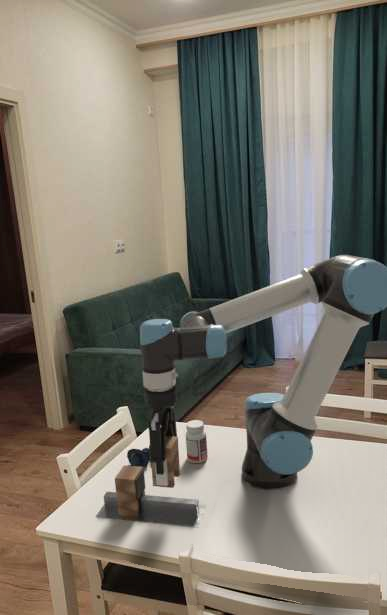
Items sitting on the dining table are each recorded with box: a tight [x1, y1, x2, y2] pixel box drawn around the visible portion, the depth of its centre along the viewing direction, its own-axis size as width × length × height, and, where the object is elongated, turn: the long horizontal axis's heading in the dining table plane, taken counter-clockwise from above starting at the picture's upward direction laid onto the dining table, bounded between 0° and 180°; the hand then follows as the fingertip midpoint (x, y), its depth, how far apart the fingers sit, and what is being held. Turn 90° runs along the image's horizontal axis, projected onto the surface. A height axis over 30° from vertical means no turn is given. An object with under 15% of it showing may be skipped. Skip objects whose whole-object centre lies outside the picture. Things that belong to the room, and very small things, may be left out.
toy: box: [126, 445, 150, 467], centre depth 146 cm, size 8×7×15 cm
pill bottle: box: [185, 419, 208, 464], centre depth 144 cm, size 6×6×11 cm
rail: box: [95, 491, 207, 529], centre depth 120 cm, size 26×9×4 cm, turn 76°
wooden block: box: [114, 465, 146, 517], centre depth 120 cm, size 5×6×10 cm
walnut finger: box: [148, 436, 181, 489], centre depth 116 cm, size 5×6×10 cm
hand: (166, 476), depth 117 cm, fingers closed on walnut finger, 6 cm apart
